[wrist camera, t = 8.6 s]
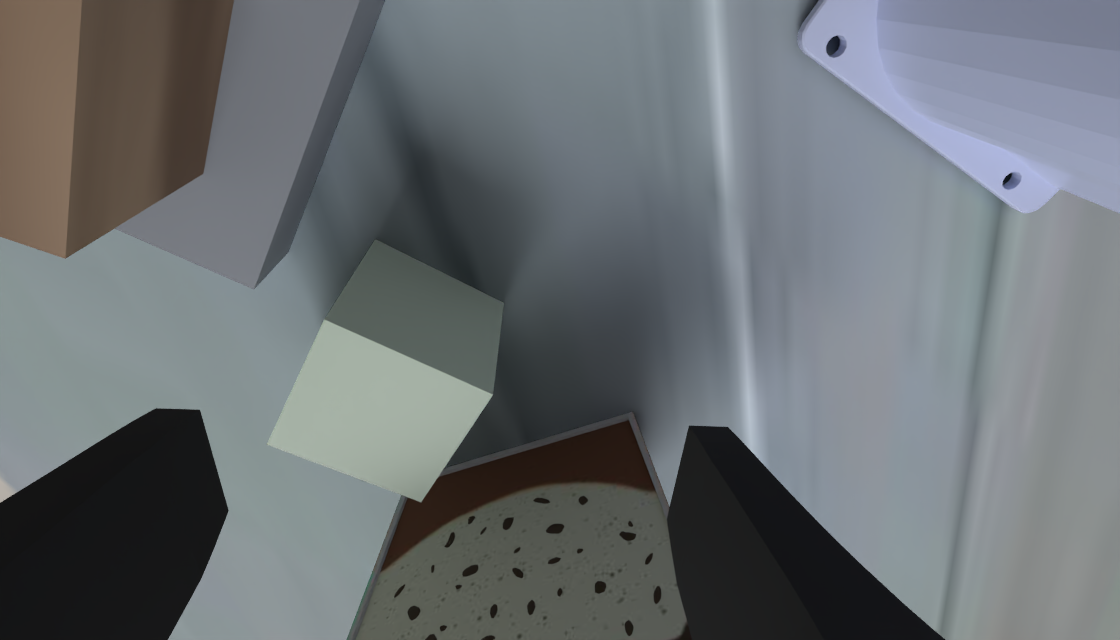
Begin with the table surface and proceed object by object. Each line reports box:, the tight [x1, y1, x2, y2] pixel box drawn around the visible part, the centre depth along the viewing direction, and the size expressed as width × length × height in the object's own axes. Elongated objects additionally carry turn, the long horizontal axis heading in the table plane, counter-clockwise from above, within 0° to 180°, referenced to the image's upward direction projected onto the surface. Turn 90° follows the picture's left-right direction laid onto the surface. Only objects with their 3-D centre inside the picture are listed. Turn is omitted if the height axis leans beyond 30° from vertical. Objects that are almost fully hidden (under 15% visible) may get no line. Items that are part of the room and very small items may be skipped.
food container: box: [347, 412, 692, 640], centre depth 20 cm, size 12×6×10 cm, turn 110°
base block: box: [115, 0, 385, 289], centre depth 14 cm, size 9×9×3 cm
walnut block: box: [0, 0, 234, 258], centre depth 11 cm, size 4×4×5 cm
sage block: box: [267, 239, 504, 502], centre depth 18 cm, size 4×4×5 cm
